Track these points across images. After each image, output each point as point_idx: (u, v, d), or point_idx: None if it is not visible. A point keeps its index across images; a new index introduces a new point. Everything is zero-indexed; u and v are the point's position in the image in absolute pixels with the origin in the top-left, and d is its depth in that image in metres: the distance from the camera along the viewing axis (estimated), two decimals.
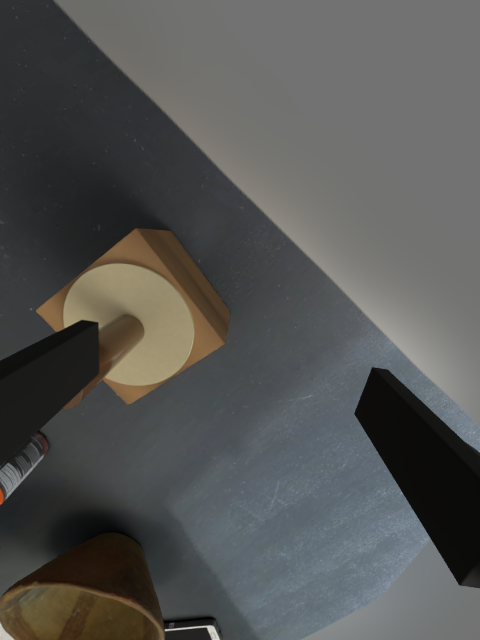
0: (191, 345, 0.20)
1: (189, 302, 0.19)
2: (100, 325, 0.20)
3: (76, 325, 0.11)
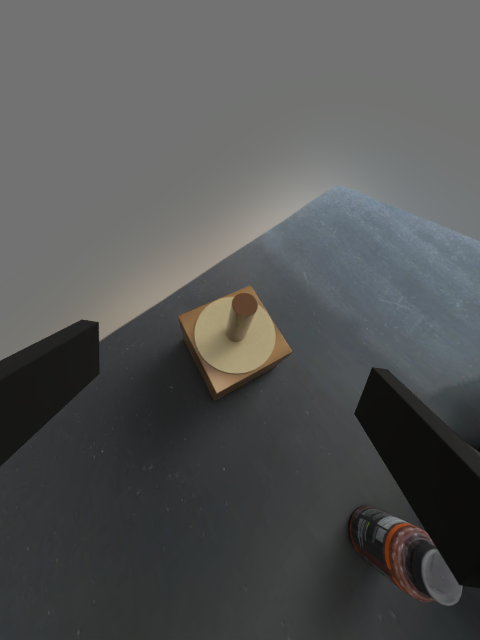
0: None
1: None
2: (231, 348, 0.30)
3: (76, 325, 0.11)
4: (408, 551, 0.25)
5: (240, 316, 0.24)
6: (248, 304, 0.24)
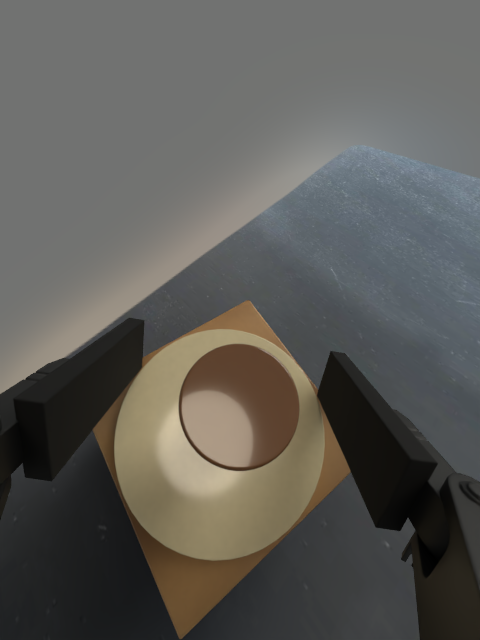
0: (249, 334, 0.15)
1: None
2: (214, 475, 0.11)
3: (127, 323, 0.12)
4: None
5: (223, 468, 0.05)
6: (256, 399, 0.05)
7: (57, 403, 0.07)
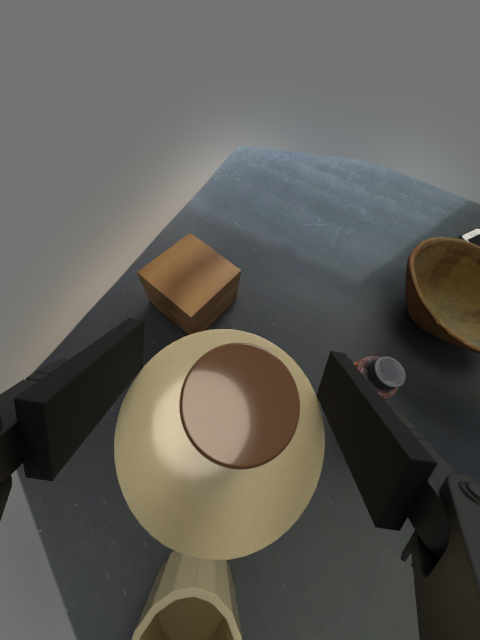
0: (249, 334, 0.15)
1: (171, 248, 0.39)
2: (214, 475, 0.11)
3: (127, 323, 0.12)
4: (367, 369, 0.33)
5: (224, 466, 0.05)
6: (257, 398, 0.05)
7: (58, 403, 0.07)
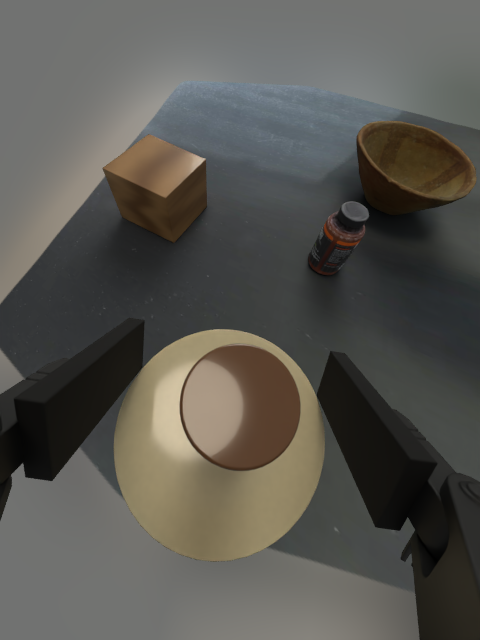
0: (249, 334, 0.15)
1: (132, 147, 0.39)
2: (214, 476, 0.11)
3: (127, 322, 0.12)
4: (335, 219, 0.36)
5: (224, 468, 0.05)
6: (257, 399, 0.05)
7: (57, 403, 0.07)
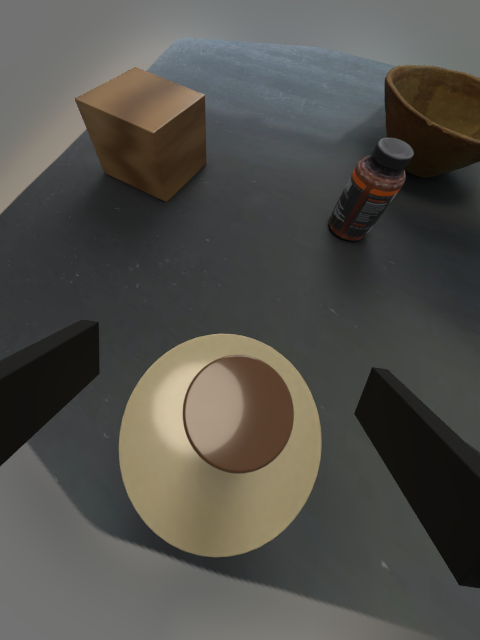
0: (248, 338, 0.15)
1: (114, 79, 0.32)
2: (215, 475, 0.12)
3: (76, 325, 0.11)
4: (369, 161, 0.28)
5: (223, 470, 0.05)
6: (254, 407, 0.06)
7: None
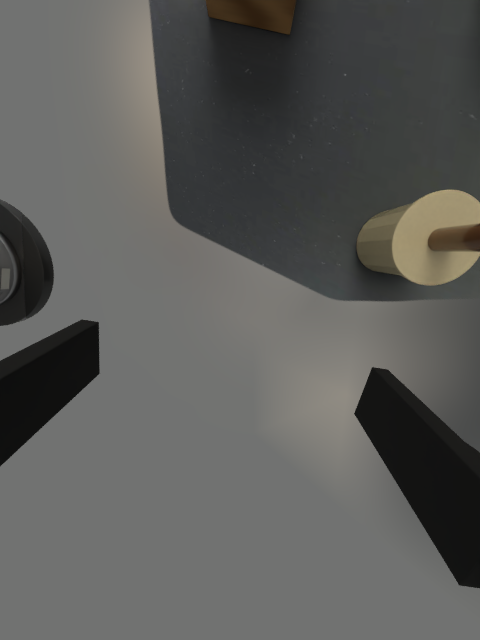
0: (448, 190, 0.27)
1: None
2: (437, 259, 0.29)
3: (76, 325, 0.11)
4: None
5: None
6: None
7: None
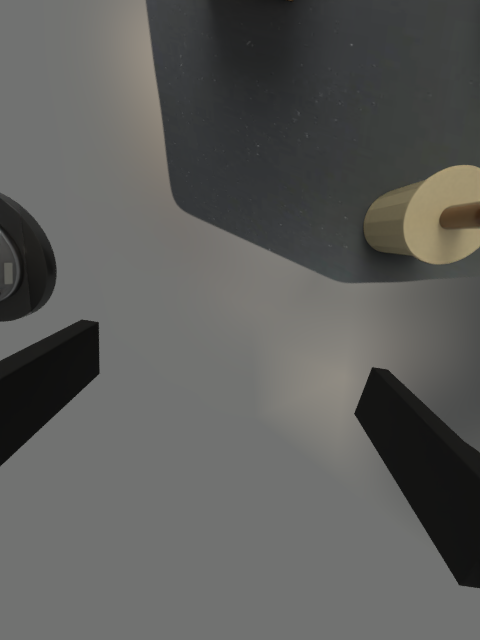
0: (461, 165, 0.26)
1: None
2: (448, 238, 0.29)
3: (76, 325, 0.11)
4: None
5: None
6: None
7: None
